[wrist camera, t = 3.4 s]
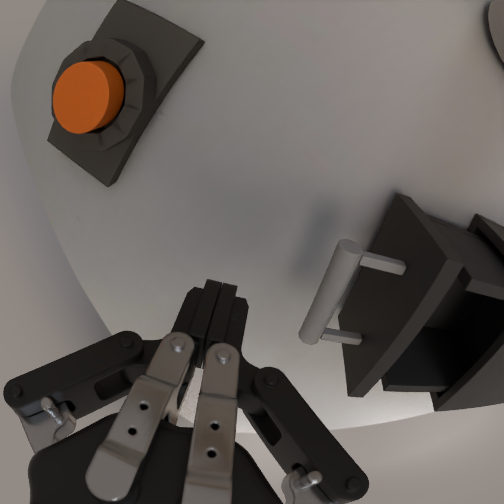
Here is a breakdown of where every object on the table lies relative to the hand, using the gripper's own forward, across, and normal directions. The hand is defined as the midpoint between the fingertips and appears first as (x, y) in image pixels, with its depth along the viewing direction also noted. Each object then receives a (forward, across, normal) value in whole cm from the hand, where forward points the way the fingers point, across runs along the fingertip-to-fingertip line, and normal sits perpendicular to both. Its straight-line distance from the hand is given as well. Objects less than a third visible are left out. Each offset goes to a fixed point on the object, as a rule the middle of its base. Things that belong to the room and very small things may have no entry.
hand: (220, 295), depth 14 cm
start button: (+5, +10, -8) cm, 14 cm away
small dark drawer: (+7, -14, 0) cm, 16 cm away
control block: (+8, +10, -8) cm, 15 cm away
